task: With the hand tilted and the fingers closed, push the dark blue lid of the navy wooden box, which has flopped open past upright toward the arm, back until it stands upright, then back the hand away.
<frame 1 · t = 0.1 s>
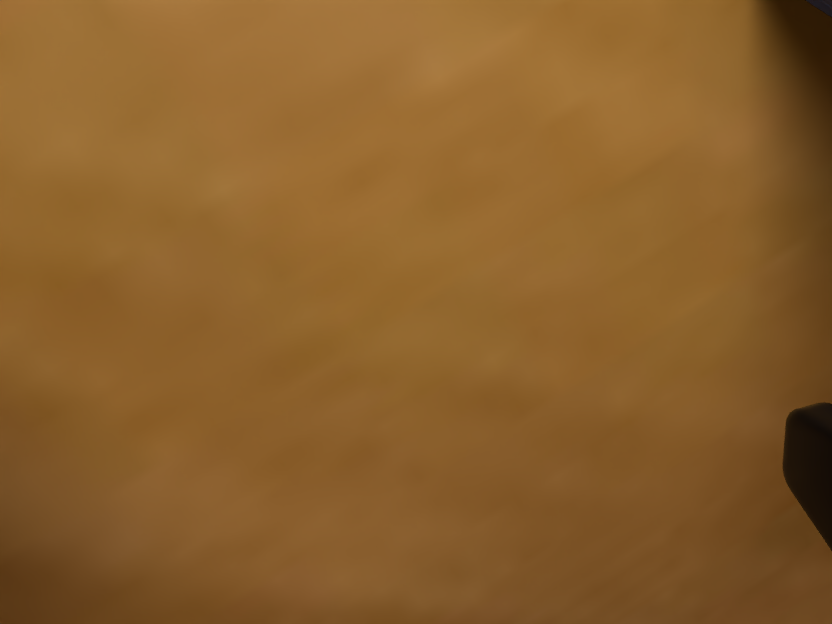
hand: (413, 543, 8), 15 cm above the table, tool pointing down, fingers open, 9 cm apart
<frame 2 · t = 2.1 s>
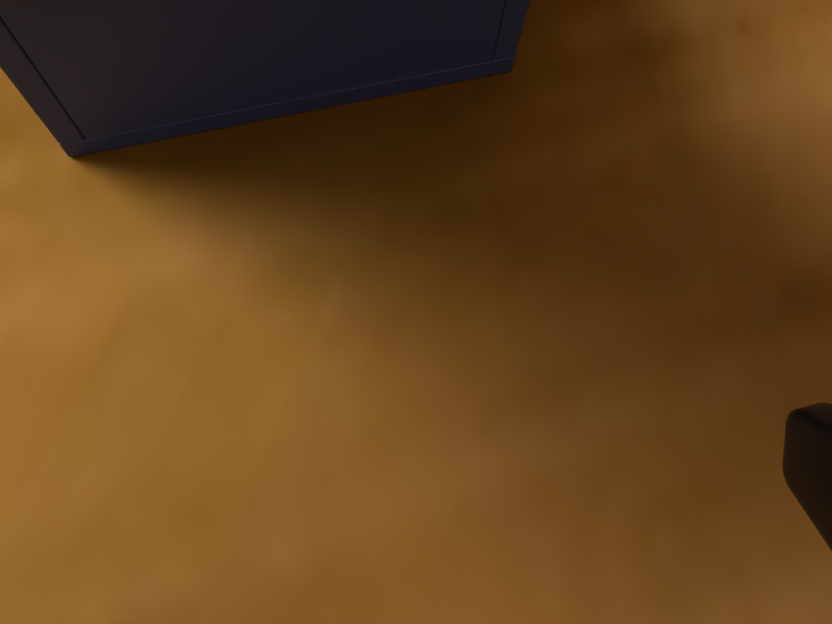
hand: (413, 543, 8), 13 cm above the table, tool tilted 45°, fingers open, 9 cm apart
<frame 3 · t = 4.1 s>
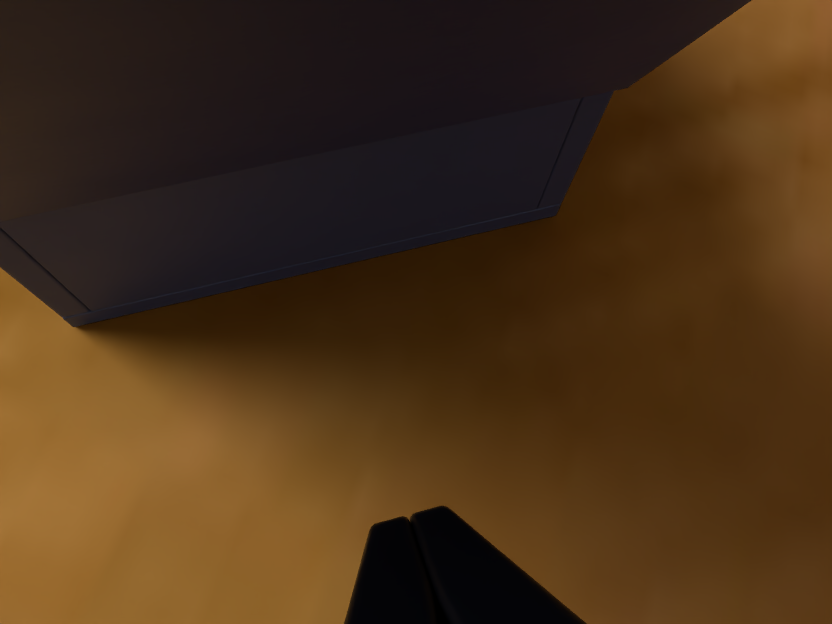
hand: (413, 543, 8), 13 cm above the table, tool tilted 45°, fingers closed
box: (286, 119, 25), on the table
lid: (286, 50, 11), point 13 cm above the table, hinge at 110.0°
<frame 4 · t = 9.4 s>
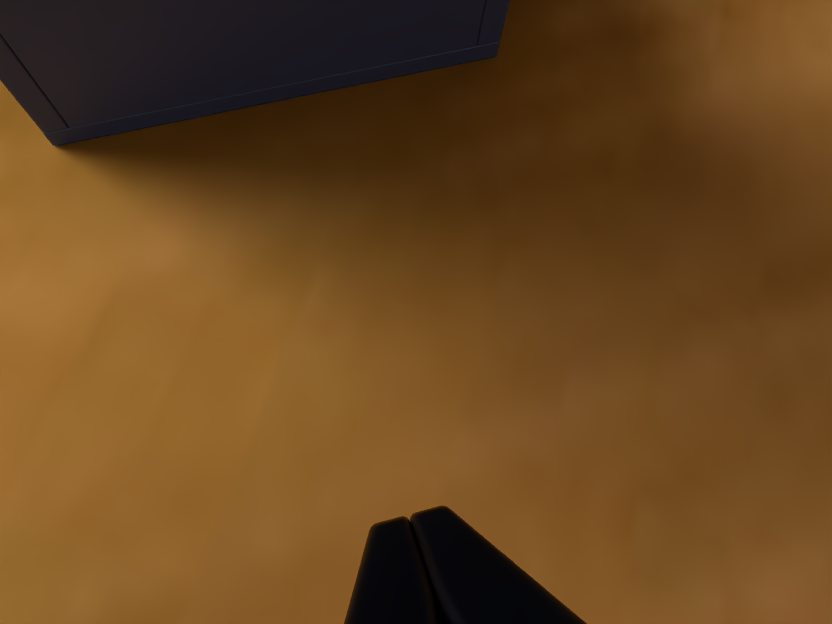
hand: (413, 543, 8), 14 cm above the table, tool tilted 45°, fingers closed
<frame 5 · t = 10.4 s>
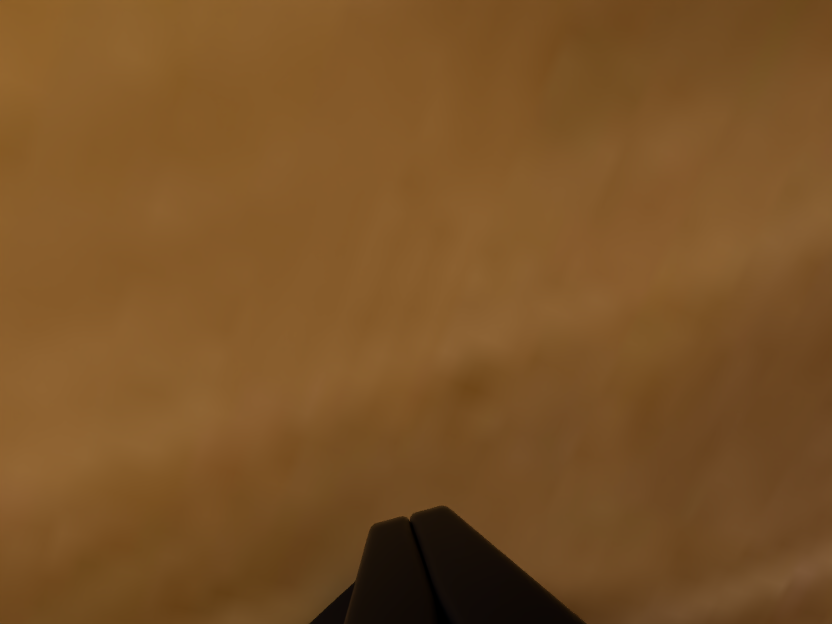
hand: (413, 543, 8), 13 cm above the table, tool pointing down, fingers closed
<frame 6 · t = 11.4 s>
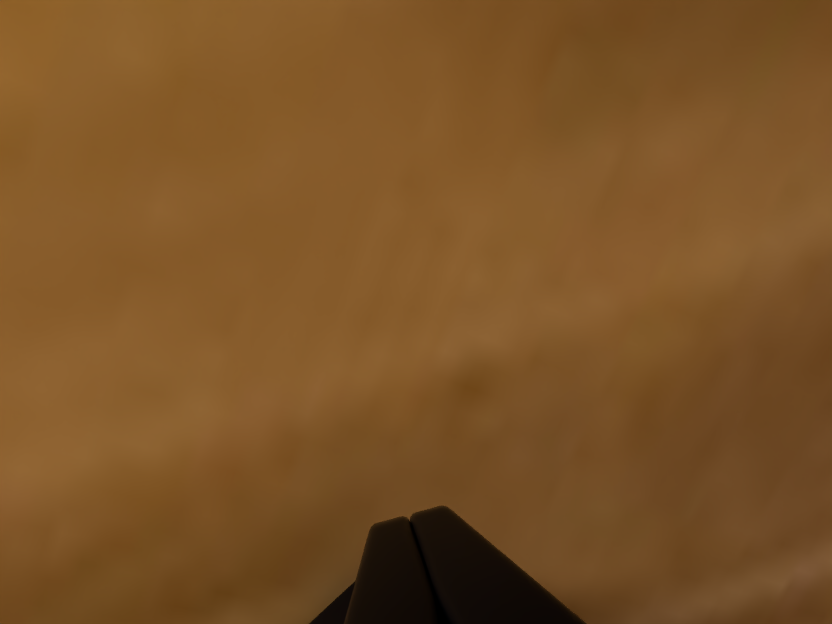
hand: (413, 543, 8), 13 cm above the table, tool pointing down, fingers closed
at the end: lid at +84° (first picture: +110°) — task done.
